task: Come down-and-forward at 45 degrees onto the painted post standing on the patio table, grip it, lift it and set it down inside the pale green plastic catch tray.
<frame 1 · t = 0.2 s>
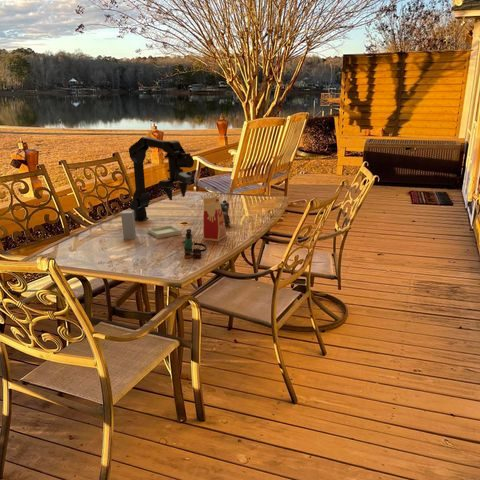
hand: (177, 198, 227), 14 cm above the table, tool pointing down, fingers open, 9 cm apart
post: (130, 237, 215), on the table
lucky cat figurine: (216, 225, 233), on the table
tray: (164, 233, 220), on the table
binoculars: (195, 255, 189), on the table
butter knife: (161, 262, 183), on the table
milk carton: (213, 238, 212), on the table
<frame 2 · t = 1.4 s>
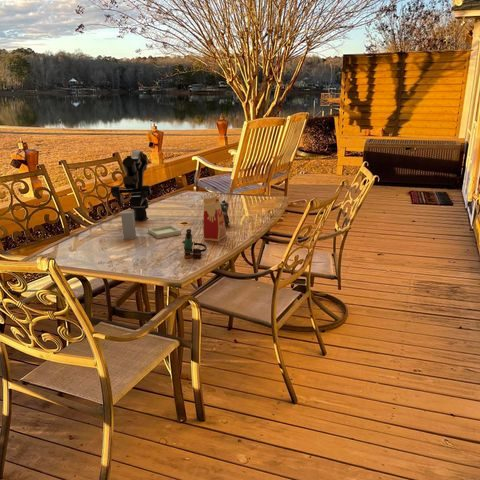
hand: (130, 205, 219), 13 cm above the table, tool tilted 45°, fingers open, 9 cm apart
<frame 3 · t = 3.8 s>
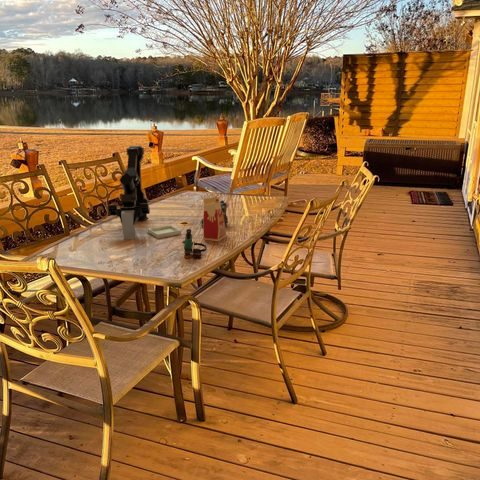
hand: (128, 224, 212), 7 cm above the table, tool tilted 45°, fingers closed on post, 5 cm apart
post: (130, 237, 215), on the table, touching gripper
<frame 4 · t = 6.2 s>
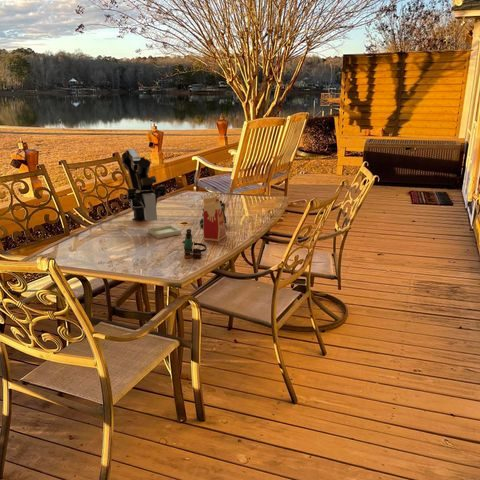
hand: (150, 206, 219), 13 cm above the table, tool tilted 45°, fingers closed on post, 5 cm apart
post: (150, 219, 223), point 6 cm above the table, touching gripper
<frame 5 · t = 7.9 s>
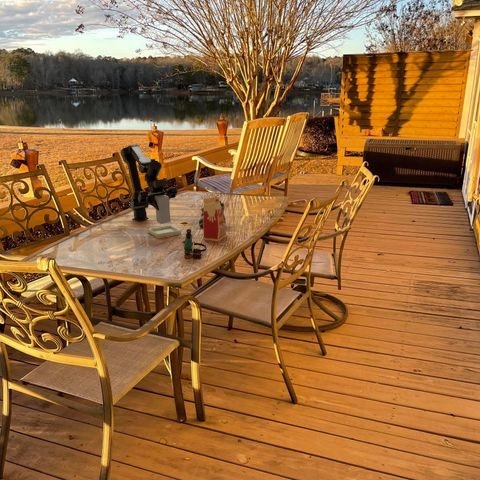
hand: (163, 209, 215), 12 cm above the table, tool tilted 45°, fingers closed on post, 5 cm apart
post: (163, 222, 218), point 6 cm above the table, touching gripper
when the fingers open (9 cm above the table, at t = 9.0 s): post drops 1 cm, resting on tray.
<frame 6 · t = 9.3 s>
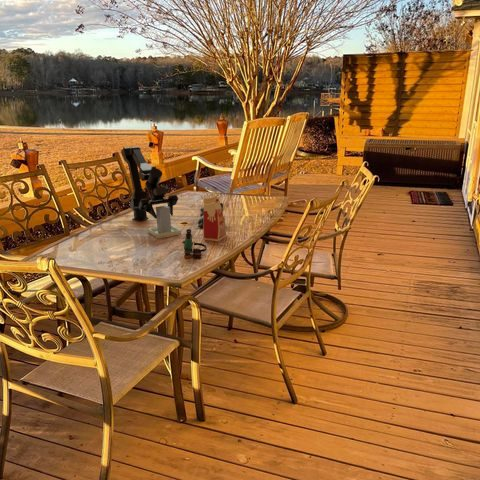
hand: (164, 216, 216), 9 cm above the table, tool tilted 45°, fingers open, 8 cm apart
post: (164, 232, 220), point 1 cm above the table, touching tray
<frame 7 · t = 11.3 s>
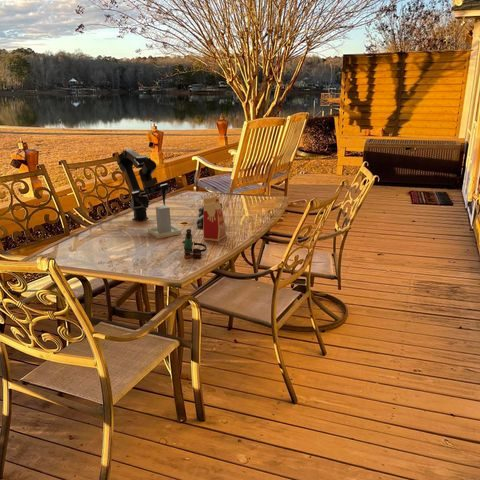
hand: (155, 207, 225), 11 cm above the table, tool tilted 35°, fingers open, 9 cm apart
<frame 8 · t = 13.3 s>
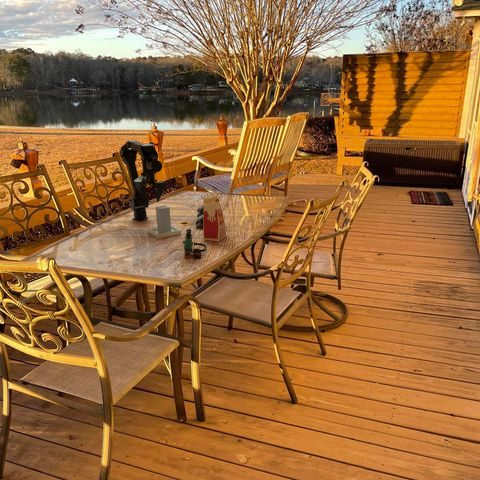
hand: (151, 200, 230), 13 cm above the table, tool pointing down, fingers open, 9 cm apart
at the end: post inside the target area on the tray (0.0 cm from its centre), point 0.5 cm above the tray's base; post tilted 0°; the gripper is holding nothing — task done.
